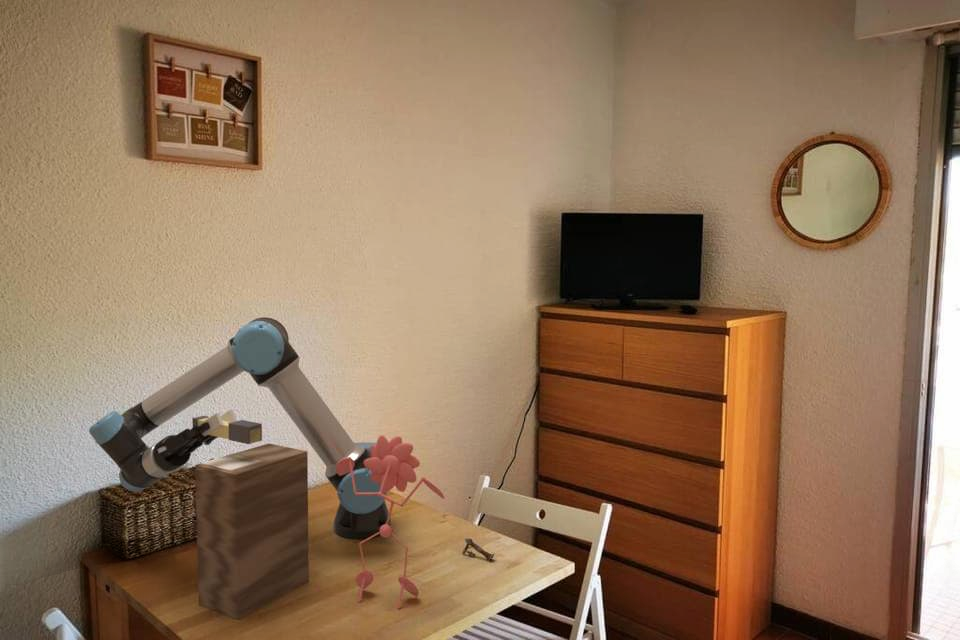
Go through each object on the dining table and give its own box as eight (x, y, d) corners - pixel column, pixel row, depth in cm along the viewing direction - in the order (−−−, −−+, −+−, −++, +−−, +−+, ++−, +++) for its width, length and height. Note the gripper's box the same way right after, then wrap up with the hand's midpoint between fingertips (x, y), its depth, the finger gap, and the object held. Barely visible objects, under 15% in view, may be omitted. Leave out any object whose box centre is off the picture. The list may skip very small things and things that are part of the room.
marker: (261, 440, 154) (261, 423, 154) (248, 444, 151) (248, 427, 151) (205, 428, 164) (204, 412, 163) (191, 431, 161) (191, 415, 160)
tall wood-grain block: (308, 581, 165) (307, 450, 162) (238, 619, 148) (235, 473, 145) (270, 569, 171) (268, 442, 168) (198, 604, 154) (195, 463, 151)
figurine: (434, 617, 150) (437, 448, 147) (322, 598, 158) (323, 437, 155) (459, 586, 164) (462, 432, 162) (356, 570, 172) (357, 423, 169)
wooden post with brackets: (461, 549, 182) (468, 534, 181) (487, 568, 179) (495, 553, 178) (458, 552, 180) (464, 537, 179) (484, 571, 177) (491, 556, 176)
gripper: (202, 462, 175) (261, 426, 163) (141, 480, 161) (201, 441, 149) (191, 433, 176) (249, 395, 164) (130, 448, 162) (188, 407, 151)
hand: (226, 417), depth 157 cm, fingers closed on marker, 3 cm apart
